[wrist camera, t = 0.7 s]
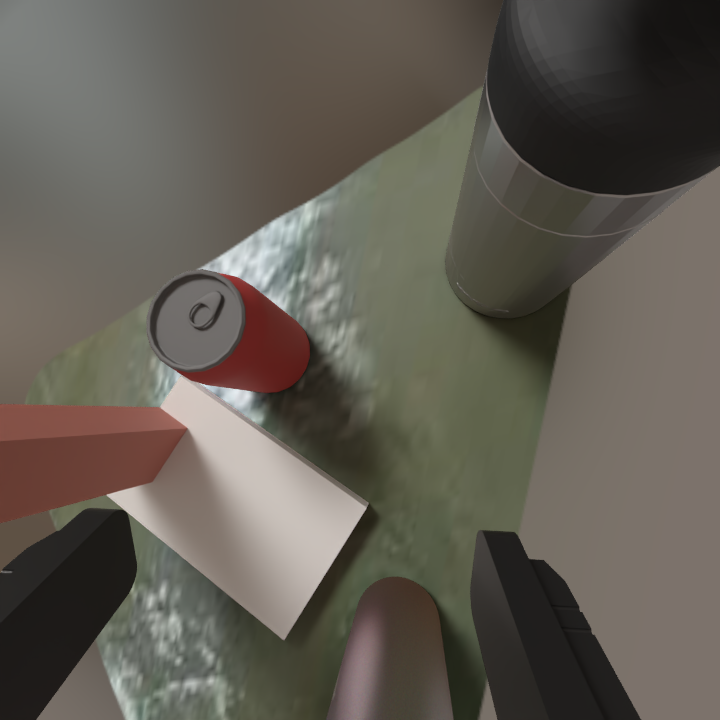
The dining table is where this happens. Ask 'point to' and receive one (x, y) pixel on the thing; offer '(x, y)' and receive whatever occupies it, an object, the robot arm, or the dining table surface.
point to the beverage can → (393, 658)
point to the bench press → (189, 490)
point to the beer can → (226, 333)
